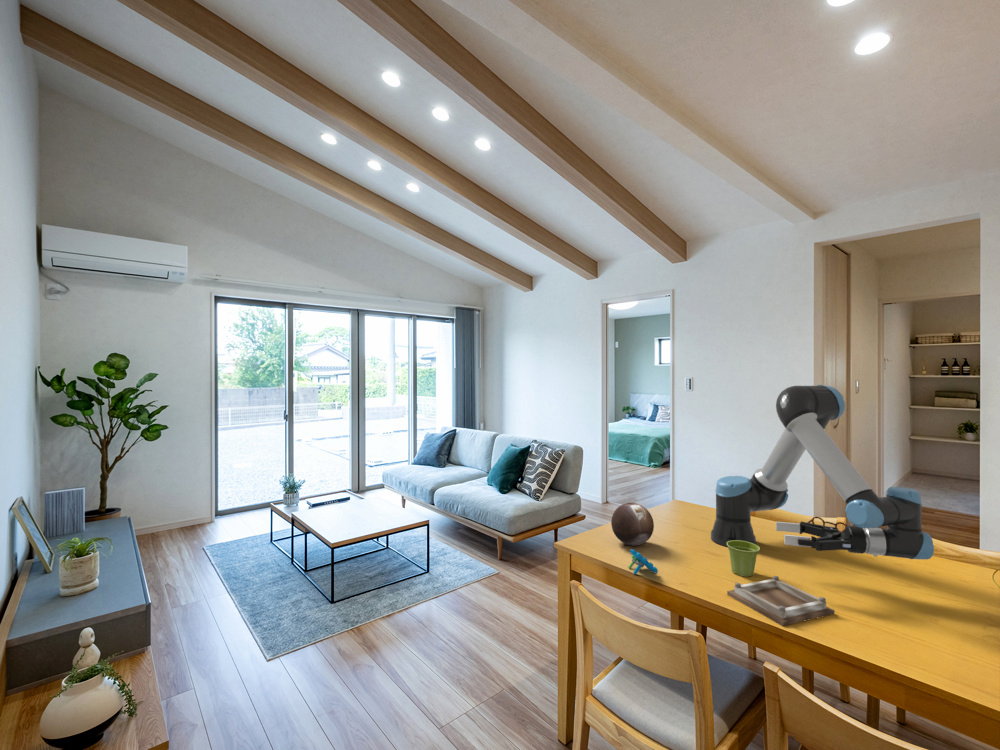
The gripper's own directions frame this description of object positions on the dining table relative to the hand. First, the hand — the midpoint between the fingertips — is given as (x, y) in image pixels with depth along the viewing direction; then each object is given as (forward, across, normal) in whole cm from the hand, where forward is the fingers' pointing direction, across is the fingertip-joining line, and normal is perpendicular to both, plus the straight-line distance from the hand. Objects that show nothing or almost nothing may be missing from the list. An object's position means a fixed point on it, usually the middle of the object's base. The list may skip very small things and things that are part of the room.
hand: (780, 532), depth 149 cm
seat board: (+3, -18, -14) cm, 24 cm away
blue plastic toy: (+40, -10, -14) cm, 43 cm away
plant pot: (+10, +1, -14) cm, 18 cm away
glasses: (-23, +52, -14) cm, 58 cm away
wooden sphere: (+45, +14, -14) cm, 49 cm away
